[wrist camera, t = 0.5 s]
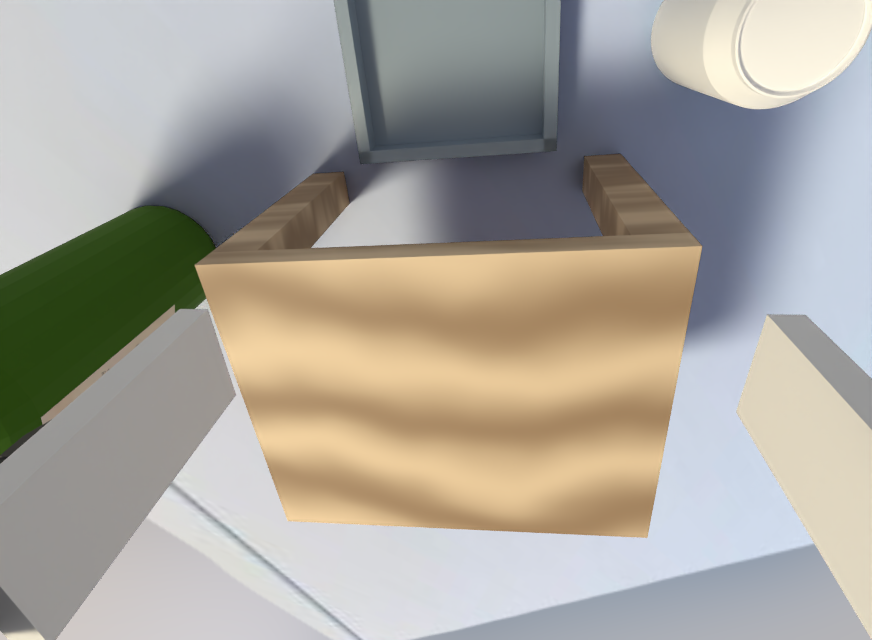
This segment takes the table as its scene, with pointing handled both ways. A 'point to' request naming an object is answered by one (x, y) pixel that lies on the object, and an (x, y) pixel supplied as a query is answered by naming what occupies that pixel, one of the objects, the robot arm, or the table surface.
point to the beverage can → (758, 46)
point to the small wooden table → (461, 363)
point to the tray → (451, 76)
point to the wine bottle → (90, 309)
